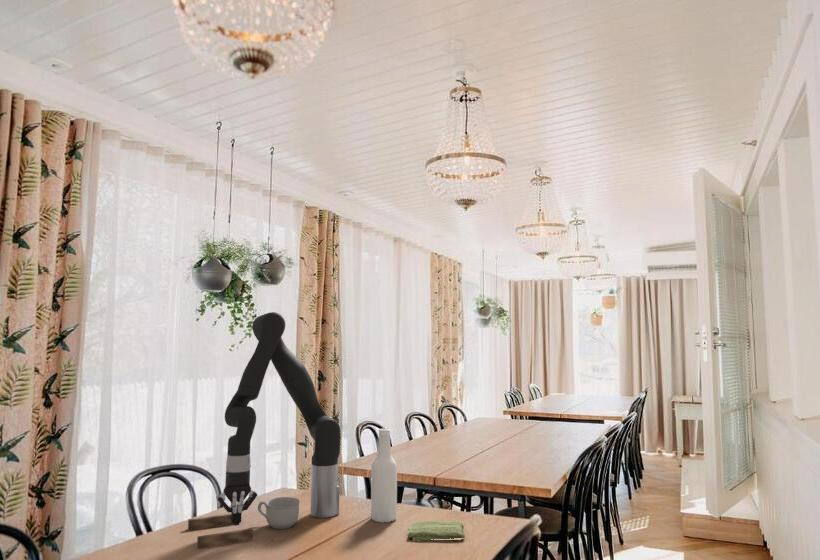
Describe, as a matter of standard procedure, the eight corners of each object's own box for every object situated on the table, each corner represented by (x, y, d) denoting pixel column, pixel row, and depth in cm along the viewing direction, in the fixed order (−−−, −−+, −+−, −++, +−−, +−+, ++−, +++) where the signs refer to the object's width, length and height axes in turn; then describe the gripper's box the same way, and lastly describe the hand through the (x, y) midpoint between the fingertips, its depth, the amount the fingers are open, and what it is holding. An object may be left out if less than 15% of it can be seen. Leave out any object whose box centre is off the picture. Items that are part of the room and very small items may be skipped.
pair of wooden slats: (238, 521, 192) (238, 512, 192) (253, 539, 175) (253, 529, 175) (187, 529, 184) (188, 519, 185) (197, 548, 167) (198, 538, 167)
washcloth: (409, 528, 186) (409, 518, 187) (463, 529, 186) (463, 519, 186) (407, 542, 173) (407, 531, 174) (465, 543, 173) (465, 532, 173)
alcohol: (381, 524, 189) (381, 432, 192) (365, 518, 195) (366, 428, 199) (402, 519, 194) (402, 429, 197) (386, 513, 201) (387, 426, 204)
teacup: (305, 523, 190) (305, 498, 191) (286, 533, 180) (286, 507, 181) (270, 518, 195) (271, 494, 196) (250, 528, 185) (250, 502, 186)
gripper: (255, 464, 190) (254, 518, 188) (214, 468, 184) (212, 524, 182) (261, 468, 184) (259, 525, 182) (219, 473, 177) (216, 531, 175)
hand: (236, 524), depth 182 cm, fingers closed
